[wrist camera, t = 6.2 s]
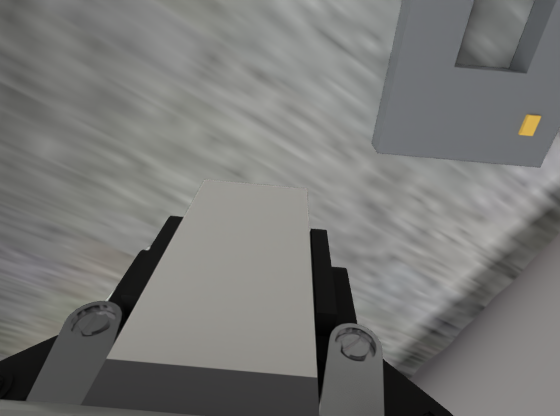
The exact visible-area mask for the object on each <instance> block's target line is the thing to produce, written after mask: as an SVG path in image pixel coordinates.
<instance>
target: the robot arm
mask: <svg viewBox="0 0 560 416" xmlns="http://www.w3.org/2000/svg"><path fill="white" fill-rule="evenodd" d="M183 218H184V217H178V216H170V217H169V218H168V220H167V221H166V223H165V224H164V226H163V228H162V229H161V231H160V232H159V234H158V236H157V237H156V239H155V241H154V242H153V244H152V245H151V247H150V249H149V250H141V251H140V252H139V254H138V255H137V257H136V258H135V260H134V261H133V263H132V264H131V266H130V267H129V269H128V270H127V272H126V273H125V275H124V276H123V278H122V280H121V281H120V283H119V284H118V286H117V287H116V289H115V290H114V292H113V293H112V295H111V296H110V298H109V299H108V301H97V302H92V303H89V304H86V305H83V306H81V307H80V308H78V309H76V310H75V311H74V312H73V313H71V314H70V315H69V316H68V318H67V319H66V321H65V322H64V324H63V326H62V329H61V331H60V333H59V335H57V336H55V337H52V338H50V339H48V340H46V341H43V342H41V343H39V344H37V345H35V346H32V347H30V348H28V349H26V350H24V351H21V352H19V353H17V354H15V355H12V356H10V357H8V358H6V359H4V360H1V361H0V416H198V415H187V414H176V413H164V412H153V411H142V410H130V409H118V408H106V407H94V406H82V405H81V404H82V402H83V400H84V398H85V396H86V394H87V393H88V391H89V389H90V387H91V385H92V384H93V382H94V380H95V378H96V376H97V374H98V373H99V371H100V369H101V367H102V365H103V363H104V362H105V360H106V358H107V356H108V354H109V353H110V351H111V349H112V347H113V345H114V343H115V342H116V340H117V338H118V336H119V334H120V332H121V331H122V329H123V327H124V325H125V323H126V322H127V320H128V318H129V316H130V314H131V312H132V311H133V309H134V307H135V305H136V303H137V301H138V300H139V298H140V296H141V294H142V292H143V290H144V289H145V287H146V285H147V283H148V281H149V280H150V278H151V276H152V274H153V272H154V270H155V269H156V267H157V265H158V263H159V261H160V259H161V258H162V256H163V254H164V252H165V250H166V249H167V247H168V245H169V243H170V241H171V239H172V238H173V236H174V234H175V232H176V230H177V228H178V227H179V225H180V223H181V221H182V219H183ZM310 250H311V269H312V287H313V305H314V324H315V342H316V361H317V379H318V397H319V416H453V415H452V414H451V413H450V412H449V411H448V410H446V409H445V408H444V407H443V406H441V405H440V404H439V403H438V402H436V401H435V400H434V399H433V398H431V397H430V396H429V395H427V394H426V393H425V392H424V391H423V390H421V389H420V388H419V387H417V386H416V385H415V384H414V383H412V382H411V381H410V380H409V379H407V378H406V377H405V376H404V375H402V374H401V373H400V372H399V371H397V370H396V369H395V368H394V367H392V366H391V365H390V364H389V363H387V362H386V361H385V360H384V359H383V353H382V346H381V342H380V341H379V339H378V337H377V336H376V335H375V334H374V333H373V332H372V331H371V330H369V329H367V328H366V327H364V326H361V325H358V324H357V320H356V315H355V309H354V304H353V299H352V294H351V288H350V283H349V278H348V273H347V269H346V268H340V267H331V260H330V252H329V244H328V237H327V230H321V229H311V231H310Z"/></svg>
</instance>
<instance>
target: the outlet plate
mask: <svg viewBox="0 0 560 416" xmlns="http://www.w3.org/2000/svg"><path fill="white" fill-rule="evenodd" d="M473 3H474V0H403V1H402V5H401V10H400V15H399V19H398V24H397V28H396V33H395V38H394V42H393V47H392V52H391V56H390V61H389V65H388V70H387V75H386V79H385V84H384V89H383V93H382V98H381V102H380V107H379V112H378V116H377V121H376V126H375V130H374V135H373V139H372V145H373V147H374V149H375V150H376V152H377V153H382V154H393V155H404V156H415V157H427V158H438V159H449V160H460V161H471V162H483V163H494V164H505V165H516V166H527V167H538V168H540V167H541V165H542V163H543V160H544V158H545V156H546V154H547V152H548V150H549V148H550V146H551V144H552V142H553V140H554V138H555V136H556V134H557V131H558V129H559V127H560V0H535V2H534V4H533V7H532V10H531V12H530V15H529V18H528V20H527V23H526V26H525V28H524V31H523V34H522V36H521V39H520V41H519V44H518V47H517V49H516V52H515V55H514V57H513V60H512V63H511V65H510V68H509V69H505V68H494V67H483V66H472V65H460V64H455V62H456V59H457V56H458V52H459V49H460V46H461V42H462V39H463V36H464V33H465V29H466V26H467V23H468V19H469V16H470V13H471V10H472V6H473Z"/></svg>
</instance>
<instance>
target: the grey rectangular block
mask: <svg viewBox="0 0 560 416" xmlns="http://www.w3.org/2000/svg"><path fill="white" fill-rule="evenodd" d="M81 405H82V406H94V407H106V408H118V409H130V410H142V411H153V412H164V413H176V414H187V415H198V416H319V397H318V379H317V361H316V342H315V324H314V305H313V287H312V269H311V250H310V232H309V213H308V195H307V189H306V188H295V187H284V186H273V185H262V184H251V183H240V182H229V181H218V180H206V179H204V181H203V183H202V185H201V187H200V188H199V190H198V192H197V194H196V196H195V197H194V199H193V201H192V203H191V205H190V207H189V208H188V210H187V212H186V214H185V216H184V218H183V219H182V221H181V223H180V225H179V227H178V228H177V230H176V232H175V234H174V236H173V238H172V239H171V241H170V243H169V245H168V247H167V249H166V250H165V252H164V254H163V256H162V258H161V259H160V261H159V263H158V265H157V267H156V269H155V270H154V272H153V274H152V276H151V278H150V280H149V281H148V283H147V285H146V287H145V289H144V290H143V292H142V294H141V296H140V298H139V300H138V301H137V303H136V305H135V307H134V309H133V311H132V312H131V314H130V316H129V318H128V320H127V322H126V323H125V325H124V327H123V329H122V331H121V332H120V334H119V336H118V338H117V340H116V342H115V343H114V345H113V347H112V349H111V351H110V353H109V354H108V356H107V358H106V360H105V362H104V363H103V365H102V367H101V369H100V371H99V373H98V374H97V376H96V378H95V380H94V382H93V384H92V385H91V387H90V389H89V391H88V393H87V394H86V396H85V398H84V400H83V402H82V404H81Z"/></svg>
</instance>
